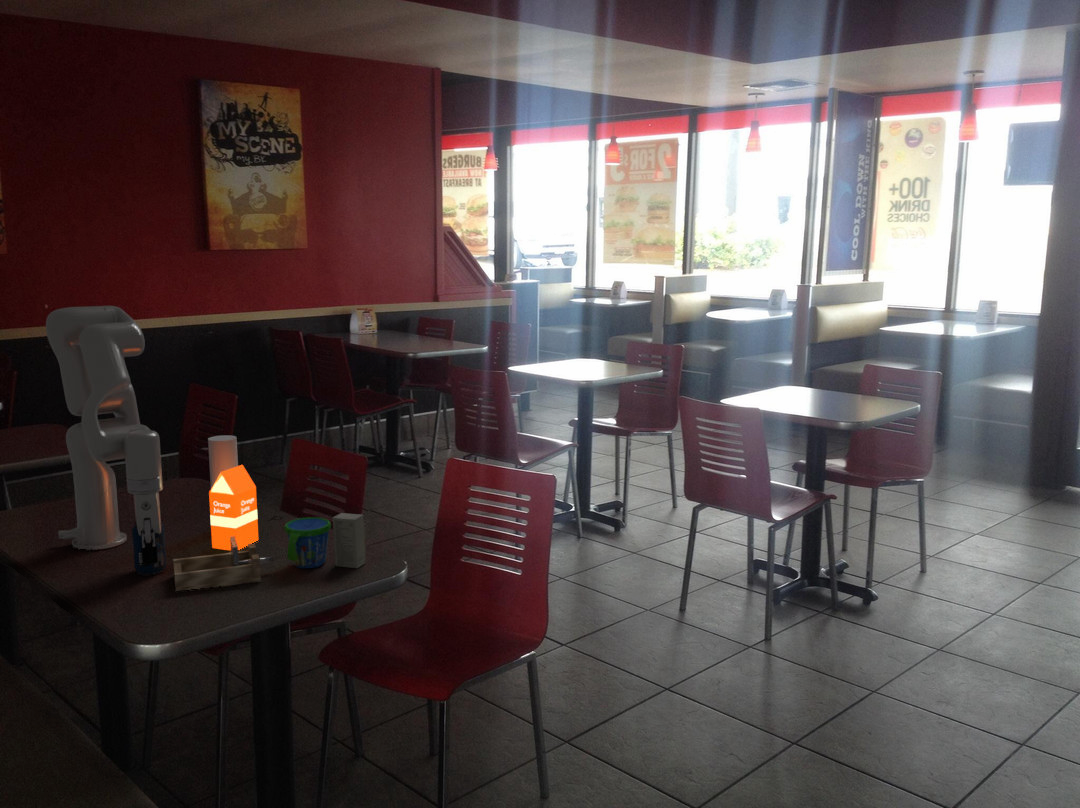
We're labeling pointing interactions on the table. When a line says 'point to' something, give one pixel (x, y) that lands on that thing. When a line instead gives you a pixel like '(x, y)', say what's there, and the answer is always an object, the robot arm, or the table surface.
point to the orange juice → (233, 509)
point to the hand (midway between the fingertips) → (150, 557)
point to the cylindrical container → (221, 455)
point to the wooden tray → (216, 570)
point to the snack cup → (307, 541)
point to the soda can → (137, 552)
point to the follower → (243, 562)
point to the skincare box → (349, 540)
